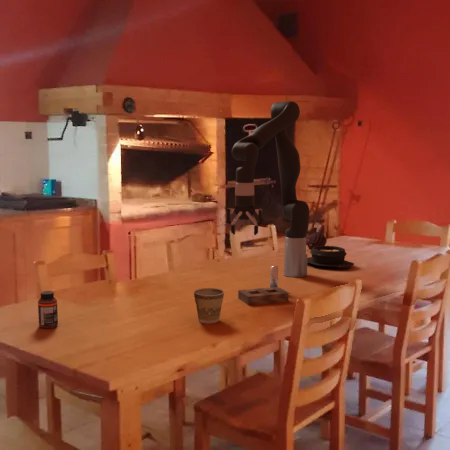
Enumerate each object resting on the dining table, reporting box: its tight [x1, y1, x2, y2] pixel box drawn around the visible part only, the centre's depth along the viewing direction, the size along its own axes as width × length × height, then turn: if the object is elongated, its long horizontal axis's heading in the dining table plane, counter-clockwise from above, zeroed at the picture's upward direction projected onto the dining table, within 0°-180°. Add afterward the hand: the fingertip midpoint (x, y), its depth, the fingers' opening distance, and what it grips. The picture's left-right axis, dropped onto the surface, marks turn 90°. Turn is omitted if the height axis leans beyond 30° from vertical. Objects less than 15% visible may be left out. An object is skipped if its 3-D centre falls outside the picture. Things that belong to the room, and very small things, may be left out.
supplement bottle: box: [37, 290, 59, 329], centre depth 204 cm, size 6×6×11 cm
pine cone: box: [306, 231, 328, 251], centre depth 335 cm, size 18×10×10 cm, turn 137°
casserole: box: [307, 245, 355, 269], centre depth 298 cm, size 25×19×8 cm
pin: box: [269, 265, 279, 288], centre depth 248 cm, size 3×3×10 cm
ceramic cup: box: [193, 287, 225, 325], centre depth 212 cm, size 13×10×10 cm
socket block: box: [237, 286, 290, 306], centre depth 237 cm, size 16×10×4 cm, turn 110°
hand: (244, 234), depth 251 cm, fingers open, 8 cm apart
